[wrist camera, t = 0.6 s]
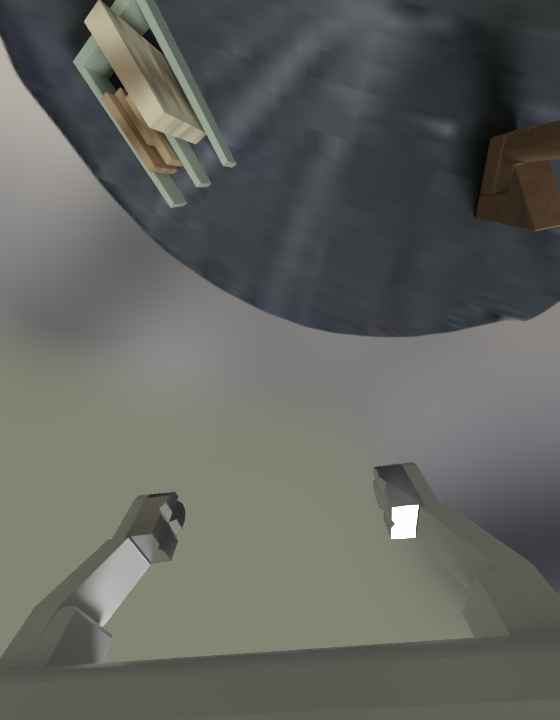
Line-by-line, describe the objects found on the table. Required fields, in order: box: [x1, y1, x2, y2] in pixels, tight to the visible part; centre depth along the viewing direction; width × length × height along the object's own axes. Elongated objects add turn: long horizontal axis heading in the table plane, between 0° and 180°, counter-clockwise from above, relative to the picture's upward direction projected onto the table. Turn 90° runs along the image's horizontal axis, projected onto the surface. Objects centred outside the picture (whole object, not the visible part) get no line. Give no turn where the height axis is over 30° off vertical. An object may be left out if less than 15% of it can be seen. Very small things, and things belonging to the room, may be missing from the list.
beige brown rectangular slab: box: [84, 0, 207, 144], centre depth 31 cm, size 9×3×14 cm, turn 29°
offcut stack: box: [101, 88, 184, 174], centre depth 37 cm, size 10×4×8 cm, turn 29°
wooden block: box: [476, 120, 560, 231], centre depth 31 cm, size 4×11×18 cm, turn 14°
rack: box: [73, 0, 236, 208], centre depth 36 cm, size 19×13×5 cm, turn 29°
